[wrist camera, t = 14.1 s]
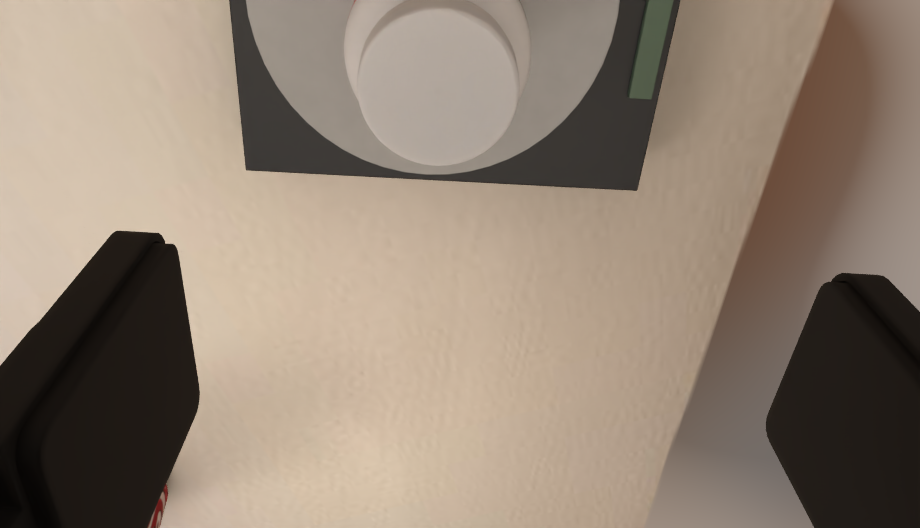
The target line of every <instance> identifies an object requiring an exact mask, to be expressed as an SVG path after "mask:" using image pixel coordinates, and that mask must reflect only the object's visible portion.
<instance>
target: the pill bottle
mask: <svg viewBox="0 0 920 528" xmlns="http://www.w3.org/2000/svg"><path fill="white" fill-rule="evenodd" d="M344 59H345V66H346V70H347V75H348V78H349V81H350V85H351V87H352V90H353V92H354V94H355V96H356V98H357V99H358V101H359V105H360V109H361V112H362V114H363V117H364V119H365V121H366V123H367V125H368V126H369V128H370V129H371V131H372V132H373V133H374V135H375V136H376V137H377V139H378V140H379V141H380V142H381V143H382V144H384V145H385V146H386V147H387V148H388V149H390V150H391V151H392V152H394V153H396V154H397V155H399V156H401V157H403V158H405V159H407V160H410V161H413V162H415V163H420V164H424V165H432V166H446V165H453V164H458V163H462V162H465V161H468V160H470V159H473V158H475V157H477V156H478V155H480V154H482V153H484V152H485V151H487V150H488V149H489V148H491V147H492V146H493V145H494V144H495V143H496V142H497V141H498V140H499V139H500V138H501V137H502V136H503V134H504V133H505V132H506V130H507V129H508V127H509V125H510V124H511V121H512V119H513V117H514V115H515V112H516V109H517V104H518V100H519V98H520V97H521V95H522V93H523V90H524V88H525V85H526V82H527V79H528V75H529V71H530V63H531V40H530V31H529V27H528V22H527V18H526V15H525V12H524V9H523V7H522V4H521V2H520V0H355V1H354V3H353V5H352V8H351V11H350V14H349V17H348V21H347V24H346V29H345V37H344Z"/></svg>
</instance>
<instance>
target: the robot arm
mask: <svg viewBox="0 0 920 528" xmlns="http://www.w3.org/2000/svg"><path fill="white" fill-rule="evenodd" d="M199 396H200V391H199V383H198V376H197V370H196V363H195V357H194V351H193V344H192V338H191V331H190V325H189V319H188V312H187V306H186V300H185V293H184V287H183V280H182V274H181V268H180V261H179V255H178V251H177V248H176V246H175V245H173V244H165V241H164V239H163V237H162V235H160V234H159V233H148V232H131V231H115V232H114V233H113V234H112V235H111V236H110V237H109V238H108V239H107V241H106V242H105V243H104V244H103V245H102V247H101V248H100V249H99V250H98V251H97V253H96V254H95V255H94V256H93V257H92V259H91V260H90V261H89V262H88V263H87V265H86V266H85V267H84V268H83V270H82V271H81V272H80V273H79V274H78V276H77V277H76V278H75V279H74V280H73V282H72V283H71V284H70V285H69V286H68V288H67V289H66V290H65V291H64V292H63V294H62V295H61V296H60V297H59V298H58V300H57V301H56V302H55V303H54V304H53V306H52V307H51V308H50V309H49V310H48V312H47V313H46V314H45V315H44V317H43V318H42V319H41V320H40V321H39V322H38V323H37V324H36V325H35V326H34V327H33V328H32V329H31V330H30V331H29V332H28V333H27V334H26V336H25V337H24V338H23V339H22V340H21V342H20V343H19V344H18V345H17V346H16V348H15V349H14V350H13V351H12V352H11V354H10V355H9V356H8V357H7V358H6V360H5V361H4V362H3V363H2V364H1V366H0V528H147V527H148V524H149V522H150V520H151V517H152V515H153V513H154V510H155V508H156V506H157V503H158V501H159V499H160V496H161V494H162V492H163V490H164V487H165V485H166V483H167V480H168V478H169V476H170V473H171V471H172V469H173V466H174V464H175V462H176V459H177V457H178V455H179V452H180V450H181V448H182V446H183V443H184V441H185V439H186V436H187V434H188V432H189V429H190V427H191V425H192V422H193V420H194V418H195V415H196V413H197V409H198V405H199ZM766 432H767V437H768V439H769V442H770V443H771V445H772V447H773V449H774V451H775V453H776V455H777V457H778V459H779V461H780V463H781V465H782V467H783V468H784V470H785V472H786V474H787V476H788V478H789V480H790V482H791V484H792V486H793V488H794V489H795V491H796V493H797V495H798V497H799V499H800V501H801V503H802V505H803V507H804V509H805V511H806V513H807V515H808V516H809V518H810V520H811V522H812V524H813V526H814V528H920V312H919V311H918V310H917V309H916V308H915V307H914V305H912V304H911V302H910V301H909V300H908V299H907V298H906V297H905V296H903V294H902V293H901V292H900V291H899V290H898V289H897V288H896V287H895V286H894V285H893V284H892V283H891V282H890V281H889V280H888V279H887V278H885V277H884V276H880V275H868V274H867V275H866V274H851V273H841V274H839V275H837V276H835V278H833V279H832V281H831V282H827V283H825V284H823V286H821V288H820V290H819V292H818V294H817V296H816V299H815V301H814V303H813V306H812V309H811V311H810V313H809V316H808V318H807V321H806V323H805V325H804V328H803V330H802V333H801V335H800V337H799V340H798V343H797V345H796V347H795V350H794V352H793V354H792V357H791V359H790V362H789V364H788V367H787V369H786V371H785V374H784V376H783V379H782V381H781V383H780V386H779V388H778V391H777V393H776V396H775V398H774V400H773V403H772V405H771V408H770V410H769V413H768V416H767V420H766Z"/></svg>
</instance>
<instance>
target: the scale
mask: <svg viewBox="0 0 920 528" xmlns="http://www.w3.org/2000/svg"><path fill="white" fill-rule="evenodd" d="M354 1H355V0H229V2H230V12H231V23H232V33H233V43H234V53H235V63H236V74H237V84H238V94H239V104H240V115H241V125H242V135H243V145H244V156H245V166H246V170H251V171H270V172H289V173H308V174H327V175H346V176H365V177H384V178H403V179H423V180H442V181H461V182H480V183H499V184H518V185H537V186H556V187H576V188H595V189H614V190H633V191H637V189H638V185H639V180H640V176H641V171H642V167H643V163H644V158H645V154H646V149H647V145H648V141H649V136H650V132H651V127H652V123H653V119H654V114H655V110H656V105H657V101H658V97H659V92H660V88H661V83H662V79H663V75H664V70H665V66H666V61H667V57H668V53H669V48H670V44H671V39H672V35H673V31H674V26H675V22H676V17H677V13H678V9H679V4H680V0H520V2H521V4H522V7H523V9H524V12H525V15H526V18H527V22H528V27H529V31H530V40H531V63H530V71H529V75H528V79H527V82H526V85H525V88H524V90H523V93H522V95H521V97H520V98H519V100H518V104H517V109H516V112H515V115H514V117H513V119H512V121H511V124H510V125H509V127H508V129H507V130H506V132H505V133H504V134H503V136H502V137H501V138H500V139H499V140H498V141H497V142H496V143H495V144H494V145H493V146H492V147H491V148H489V149H488V150H487V151H485V152H484V153H482V154H480V155H478V156H477V157H475V158H473V159H470V160H468V161H465V162H462V163H458V164H453V165H446V166H432V165H424V164H420V163H415V162H413V161H410V160H407V159H405V158H403V157H401V156H399V155H397V154H396V153H394V152H392V151H391V150H390V149H388V148H387V147H386V146H385V145H384V144H382V143H381V142H380V141H379V140H378V139H377V137H376V136H375V135H374V133H373V132H372V131H371V129H370V128H369V126H368V125H367V123H366V121H365V119H364V117H363V114H362V112H361V109H360V105H359V101H358V99H357V98H356V96H355V94H354V92H353V90H352V87H351V85H350V81H349V78H348V75H347V70H346V66H345V59H344V37H345V29H346V24H347V21H348V17H349V14H350V11H351V8H352V5H353V3H354Z"/></svg>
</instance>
